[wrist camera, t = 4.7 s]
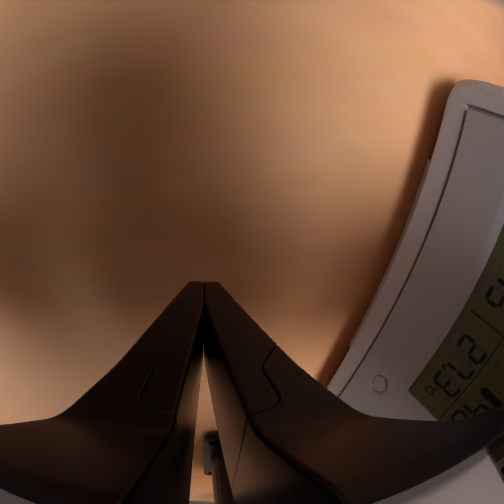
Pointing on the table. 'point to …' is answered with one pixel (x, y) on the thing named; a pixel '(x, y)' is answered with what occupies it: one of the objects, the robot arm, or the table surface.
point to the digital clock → (441, 283)
